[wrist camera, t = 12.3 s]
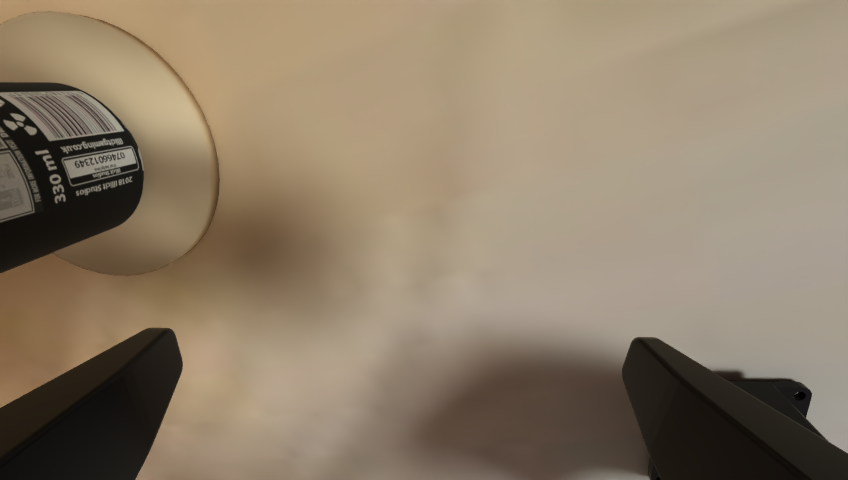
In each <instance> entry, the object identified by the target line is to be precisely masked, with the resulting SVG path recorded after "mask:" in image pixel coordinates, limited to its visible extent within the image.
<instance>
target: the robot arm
mask: <svg viewBox="0 0 848 480" xmlns="http://www.w3.org/2000/svg"><path fill="white" fill-rule="evenodd" d="M182 367H183V362H182V357H181V353H180V350H179V346H178V342H177V339H176V335H175V333H174V331H173V330H172V329H169V328H147V329H145V330H143V331H141V332H139V333H138V334H136V335H134V336H132V337H130V338H128V339H127V340H125V341H123V342H121V343H119V344H117V345H115V346H114V347H112V348H110V349H108V350H106V351H104V352H103V353H101V354H99V355H97V356H95V357H93V358H92V359H90V360H88V361H86V362H84V363H82V364H80V365H79V366H77V367H75V368H73V369H71V370H69V371H68V372H66V373H64V374H62V375H60V376H58V377H57V378H55V379H53V380H51V381H49V382H47V383H45V384H44V385H42V386H40V387H38V388H36V389H34V390H33V391H31V392H29V393H27V394H25V395H23V396H22V397H20V398H18V399H16V400H14V401H12V402H10V403H9V404H7V405H5V406H3V407H1V408H0V480H135V479H136V477H137V475H138V473H139V471H140V469H141V467H142V465H143V464H144V462H145V460H146V457H147V455H148V453H149V451H150V449H151V447H152V445H153V442H154V440H155V438H156V435H157V433H158V430H159V428H160V425H161V423H162V420H163V418H164V415H165V413H166V410H167V408H168V405H169V403H170V400H171V398H172V395H173V393H174V390H175V388H176V385H177V383H178V380H179V378H180V375H181V372H182ZM622 377H623V381H624V384H625V387H626V390H627V393H628V395H629V398H630V401H631V404H632V407H633V410H634V413H635V416H636V418H637V421H638V424H639V427H640V430H641V433H642V436H643V439H644V441H645V444H646V447H647V449H648V452H649V454H650V461H649V469H648V476H649V478H650V480H848V453H846V452H845V451H843V450H841V449H840V448H838V447H836V446H835V445H833V444H831V443H830V442H829V441H828V440H827V439H826V438H825V437H824V436H823V435H822V434H821V433H820V432H819V431H818V430H817V429H816V428H815V427H814V426H813V425H812V424H811V423H810V422H809V421H808V420H807V419H806V415H807V412H808V408H809V404H810V401H811V397H812V393H811V391H810V390H809V389H808V388H807V387H806V386H805V385H804V384H802V383H800V382H764V381H727V380H725V379H724V378H722V377H721V376H719V375H717V374H716V373H714V372H712V371H711V370H709V369H707V368H706V367H704V366H702V365H701V364H699V363H697V362H696V361H694V360H692V359H691V358H689V357H687V356H686V355H684V354H683V353H681V352H679V351H678V350H676V349H674V348H673V347H671V346H669V345H668V344H666V343H664V342H663V341H661V340H659V339H658V338H654V337H637V338H634V339H633V340H632V342H631V345H630V347H629V350H628V353H627V356H626V359H625V362H624V364H623V368H622ZM797 392H799V393H797ZM796 393H797V394H796ZM794 394H795V395H794Z"/></svg>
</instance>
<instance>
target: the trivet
mask: <svg viewBox="0 0 848 480" xmlns="http://www.w3.org/2000/svg"><path fill="white" fill-rule="evenodd" d="M0 82H52V83H61V84H66V85H69V86H72V87H75V88H78V89H80V90H82V91H85V92H86V93H88V94H90V95H92V96H93V97H95V98H96V99H98V100H99V101H101V102H102V103H103V104H104V105H105V106H107V107H108V108H109V109H110V110H111V111H112V112H113V113H114V114H115V115H116V116H117V117H118V118H119V119H120V120H121V121H122V122H123V124H124V125H125V126H126V127H127V128H128V130H129V131H130V133H131V134H132V136H133V138H134V140H135V141H136V143H137V146H138V148H139V150H140V153H141V156H142V161H143V167H144V182H143V191H142V196H141V199H140V202H139V204H138V206H137V208H136V210H135V211H134V213H133V214H132V215H131V216H130V218H129V219H127V220H126V221H125V222H124V223H122V224H121V225H119V226H117V227H115V228H113V229H110V230H108V231H105V232H103V233H100V234H98V235H95V236H93V237H90V238H88V239H85V240H83V241H80V242H78V243H75V244H73V245H70V246H68V247H65V248H63V249H60V250H58V251H55V252H53V254H55V255H56V256H58V257H60V258H62V259H64V260H66V261H68V262H69V263H72V264H74V265H77V266H79V267H82V268H84V269H87V270H91V271H95V272H98V273H103V274H110V275H125V276H129V275H138V274H144V273H148V272H152V271H155V270H157V269H160V268H162V267H164V266H166V265H168V264H170V263H172V262H173V261H175V260H177V259H178V258H180V257H181V256H183V255H184V254H186V253H187V252H188V251H190V250H191V249H192V248H193V247H194V246H195V245H196V244H197V243H198V242H199V240H200V239H201V238H202V237H203V235H204V234H205V232H206V230H207V228H208V227H209V225H210V223H211V221H212V218H213V215H214V212H215V210H216V205H217V200H218V194H219V165H218V158H217V153H216V148H215V144H214V141H213V137H212V134H211V131H210V128H209V126H208V123H207V121H206V119H205V116H204V114H203V112H202V110H201V108H200V106H199V104H198V103H197V101H196V99H195V97H194V96H193V94H192V93H191V91H190V90H189V88H188V87H187V86H186V84H185V83H184V81H183V80H182V78H181V77H180V76H179V75H178V74H177V73H176V72H175V70H174V69H173V68H172V67H171V66H170V65H169V64H168V63H167V62H166V61H165V60H164V59H163V58H162V57H161V56H160V55H159V54H158V53H157V52H155V51H154V50H153V49H152V48H151V47H149V46H148V45H146V44H145V43H144V42H142V41H141V40H140V39H138V38H137V37H135V36H133V35H132V34H130V33H128V32H126V31H125V30H123V29H121V28H119V27H117V26H114V25H112V24H109V23H107V22H104V21H102V20H98V19H94V18H90V17H86V16H81V15H75V14H69V13H61V12H52V11H49V12H33V13H29V14H24V15H20V16H17V17H15V18H12V19H10V20H8V21H6V22H4V23H2V24H1V25H0Z"/></svg>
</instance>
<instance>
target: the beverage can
mask: <svg viewBox="0 0 848 480" xmlns="http://www.w3.org/2000/svg"><path fill="white" fill-rule="evenodd" d="M143 182H144V167H143V161H142V156H141V153H140V150H139V148H138V146H137V143H136V141H135V140H134V138H133V136H132V134H131V133H130V131H129V130H128V128H127V127H126V126H125V125H124V124H123V122H122V121H121V120H120V119H119V118H118V117H117V116H116V115H115V114H114V113H113V112H112V111H111V110H110V109H109V108H108V107H107V106H105V105H104V104H103V103H102V102H101V101H99V100H98V99H96V98H95V97H93V96H92V95H90V94H88V93H86V92H85V91H82V90H80V89H78V88H75V87H72V86H69V85H66V84H61V83H52V82H0V273H2V272H5V271H7V270H10V269H12V268H15V267H17V266H20V265H22V264H25V263H27V262H30V261H32V260H35V259H37V258H40V257H43V256H45V255H48V254H50V253H53V252H55V251H58V250H60V249H63V248H65V247H68V246H70V245H73V244H75V243H78V242H80V241H83V240H85V239H88V238H90V237H93V236H95V235H98V234H100V233H103V232H105V231H108V230H110V229H113V228H115V227H117V226H119V225H121V224H122V223H124V222H125V221H126V220H127V219H129V218H130V216H131V215H132V214H133V213H134V211H135V210H136V208H137V206H138V204H139V202H140V199H141V196H142V191H143Z"/></svg>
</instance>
